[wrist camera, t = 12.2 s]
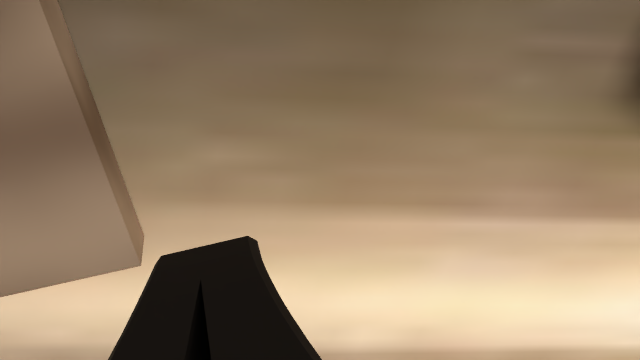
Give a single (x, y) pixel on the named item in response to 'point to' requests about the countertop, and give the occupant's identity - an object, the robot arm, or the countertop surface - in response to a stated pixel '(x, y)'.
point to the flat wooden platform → (55, 161)
